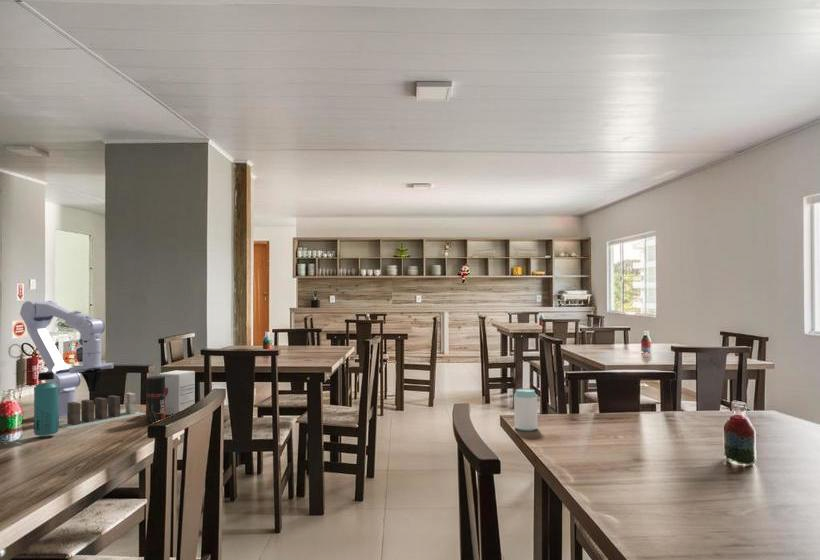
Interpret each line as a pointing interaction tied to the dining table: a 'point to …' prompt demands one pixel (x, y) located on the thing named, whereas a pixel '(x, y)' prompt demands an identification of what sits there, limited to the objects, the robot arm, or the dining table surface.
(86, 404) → the tile
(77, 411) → the tile
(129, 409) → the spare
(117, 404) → the tile
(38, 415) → the beverage bottle
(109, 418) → the mat
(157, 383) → the deodorant
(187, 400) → the supplement box
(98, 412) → the tile
